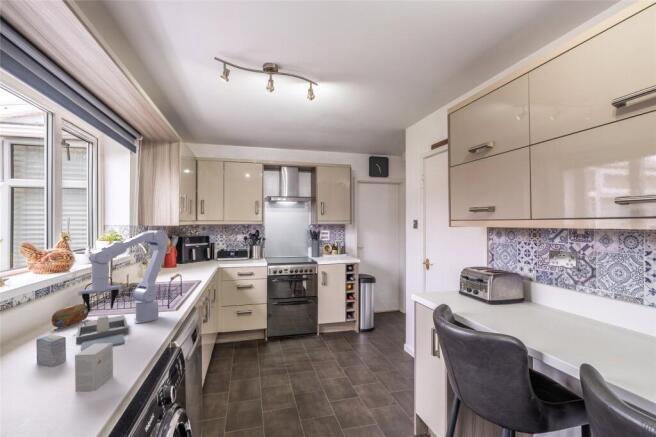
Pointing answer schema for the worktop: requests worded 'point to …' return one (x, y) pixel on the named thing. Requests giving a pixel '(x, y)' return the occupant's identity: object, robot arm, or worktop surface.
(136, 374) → the worktop surface
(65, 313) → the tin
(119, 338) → the mat
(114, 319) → the grey open frame tray
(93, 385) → the small box
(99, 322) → the block
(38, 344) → the medicine box
